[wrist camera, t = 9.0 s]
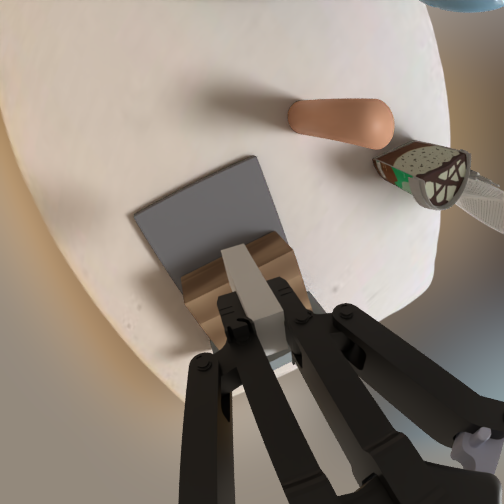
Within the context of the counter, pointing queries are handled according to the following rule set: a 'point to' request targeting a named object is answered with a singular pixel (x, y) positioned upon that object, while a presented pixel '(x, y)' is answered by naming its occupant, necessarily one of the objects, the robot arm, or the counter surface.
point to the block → (216, 284)
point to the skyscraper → (483, 201)
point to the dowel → (344, 121)
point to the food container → (427, 172)
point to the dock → (214, 224)
